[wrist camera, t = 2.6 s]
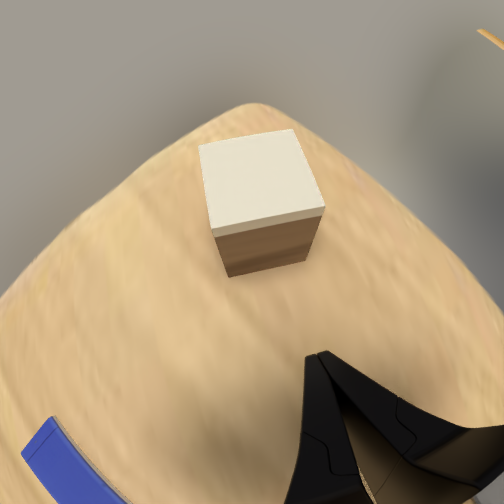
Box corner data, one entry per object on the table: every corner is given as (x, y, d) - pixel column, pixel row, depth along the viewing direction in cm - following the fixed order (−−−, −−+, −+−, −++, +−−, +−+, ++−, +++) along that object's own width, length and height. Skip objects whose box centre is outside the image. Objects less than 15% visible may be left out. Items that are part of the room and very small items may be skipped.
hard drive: (149, 525, 12) (48, 416, 16) (104, 550, 10) (18, 454, 14) (155, 518, 14) (59, 415, 17) (110, 544, 11) (28, 452, 15)
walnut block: (305, 260, 22) (325, 205, 14) (228, 277, 21) (211, 228, 14) (284, 197, 24) (292, 128, 17) (215, 210, 24) (198, 145, 16)
